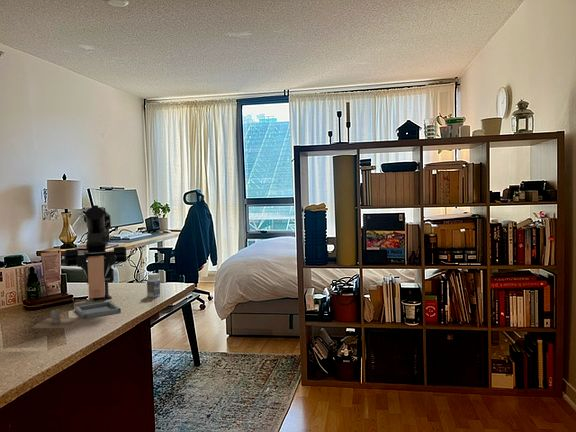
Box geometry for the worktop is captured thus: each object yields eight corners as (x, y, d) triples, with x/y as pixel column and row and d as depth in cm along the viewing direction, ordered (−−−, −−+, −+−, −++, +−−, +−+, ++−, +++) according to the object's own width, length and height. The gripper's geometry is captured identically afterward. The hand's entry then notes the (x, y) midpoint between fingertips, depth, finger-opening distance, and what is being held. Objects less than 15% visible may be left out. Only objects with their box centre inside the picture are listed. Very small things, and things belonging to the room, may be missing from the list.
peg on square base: (48, 320, 134) (47, 306, 133) (80, 320, 134) (80, 305, 134) (29, 331, 124) (28, 315, 123) (64, 330, 124) (64, 315, 124)
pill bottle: (156, 297, 161) (155, 275, 161) (144, 297, 162) (144, 274, 162) (162, 294, 166) (161, 272, 165) (151, 294, 167) (150, 272, 166)
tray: (75, 312, 142) (75, 306, 142) (110, 306, 149) (110, 301, 149) (84, 321, 133) (83, 314, 132) (120, 314, 139) (120, 308, 139)
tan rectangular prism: (89, 295, 142) (88, 256, 141) (105, 293, 143) (103, 255, 142) (88, 299, 136) (87, 259, 135) (104, 298, 137) (103, 258, 137)
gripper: (63, 225, 139) (60, 264, 130) (125, 222, 146) (126, 260, 136) (67, 246, 147) (64, 284, 137) (125, 243, 154) (127, 279, 144)
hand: (96, 276), depth 139 cm, fingers closed on tan rectangular prism, 5 cm apart
